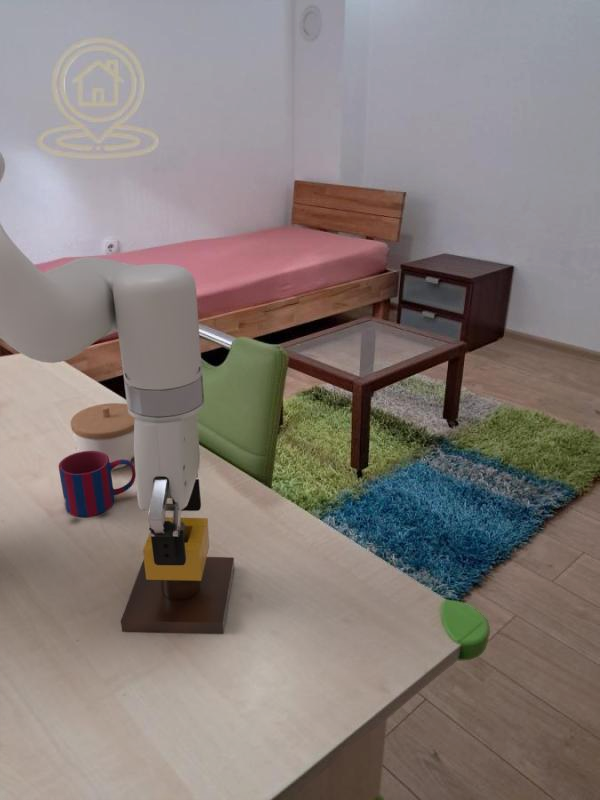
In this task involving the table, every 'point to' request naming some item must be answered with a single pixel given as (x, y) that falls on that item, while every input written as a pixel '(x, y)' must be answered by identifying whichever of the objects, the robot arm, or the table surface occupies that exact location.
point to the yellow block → (193, 548)
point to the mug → (90, 482)
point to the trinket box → (105, 431)
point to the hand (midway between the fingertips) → (179, 534)
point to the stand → (181, 600)
